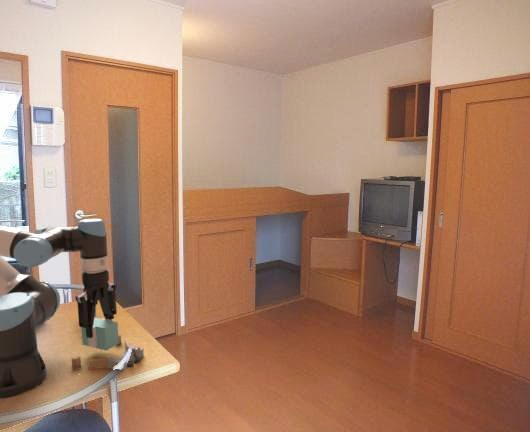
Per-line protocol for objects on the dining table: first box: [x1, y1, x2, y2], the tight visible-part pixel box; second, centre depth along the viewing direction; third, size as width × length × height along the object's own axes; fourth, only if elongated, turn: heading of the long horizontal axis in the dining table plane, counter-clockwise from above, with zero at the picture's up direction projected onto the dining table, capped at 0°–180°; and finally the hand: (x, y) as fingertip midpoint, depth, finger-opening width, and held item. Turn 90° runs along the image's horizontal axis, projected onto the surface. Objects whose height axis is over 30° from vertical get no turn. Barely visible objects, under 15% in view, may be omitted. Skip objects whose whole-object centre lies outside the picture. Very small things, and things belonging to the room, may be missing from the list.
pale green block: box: [80, 317, 120, 352], centre depth 122 cm, size 5×10×7 cm, turn 65°
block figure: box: [71, 334, 145, 370], centre depth 120 cm, size 18×15×2 cm
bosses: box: [125, 346, 142, 369], centre depth 117 cm, size 5×2×4 cm, turn 155°
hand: (100, 342), depth 122 cm, fingers closed on pale green block, 5 cm apart
